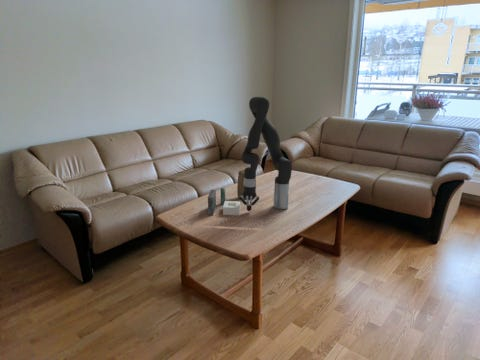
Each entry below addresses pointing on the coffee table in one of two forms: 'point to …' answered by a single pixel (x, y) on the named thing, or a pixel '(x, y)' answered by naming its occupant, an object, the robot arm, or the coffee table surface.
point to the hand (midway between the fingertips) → (249, 210)
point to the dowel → (222, 196)
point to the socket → (231, 208)
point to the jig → (211, 202)
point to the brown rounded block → (240, 183)
